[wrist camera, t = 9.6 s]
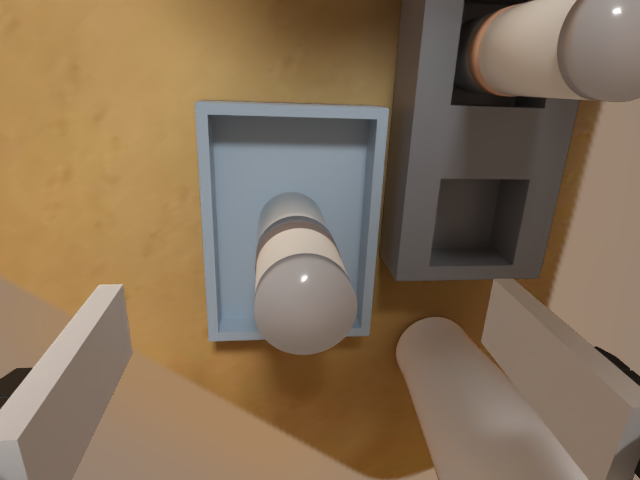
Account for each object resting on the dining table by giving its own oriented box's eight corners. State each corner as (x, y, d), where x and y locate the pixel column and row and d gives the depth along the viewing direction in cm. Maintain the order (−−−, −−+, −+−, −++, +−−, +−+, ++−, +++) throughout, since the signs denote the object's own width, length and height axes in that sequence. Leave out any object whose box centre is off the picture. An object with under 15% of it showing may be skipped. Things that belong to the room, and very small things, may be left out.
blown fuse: (257, 190, 26) (251, 262, 16) (325, 191, 27) (362, 261, 16) (258, 254, 28) (253, 357, 17) (322, 253, 28) (355, 354, 18)
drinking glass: (399, 395, 33) (497, 621, 20) (371, 326, 31) (459, 527, 17) (482, 362, 33) (639, 565, 19) (459, 290, 31) (621, 463, 17)
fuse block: (403, -17, 24) (429, -35, 20) (555, -6, 25) (607, -22, 21) (379, 255, 29) (396, 281, 25) (505, 254, 30) (539, 278, 27)
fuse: (449, 13, 24) (592, -39, 13) (520, 17, 24) (709, -29, 14) (440, 92, 25) (562, 101, 15) (507, 95, 26) (669, 105, 15)
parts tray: (201, 99, 25) (194, 101, 22) (377, 105, 26) (389, 108, 24) (213, 320, 29) (208, 341, 27) (361, 316, 31) (369, 335, 28)
